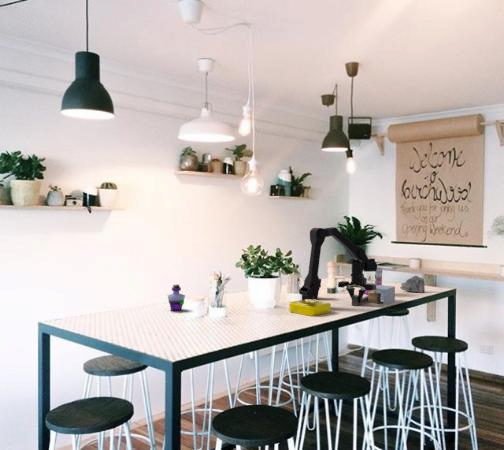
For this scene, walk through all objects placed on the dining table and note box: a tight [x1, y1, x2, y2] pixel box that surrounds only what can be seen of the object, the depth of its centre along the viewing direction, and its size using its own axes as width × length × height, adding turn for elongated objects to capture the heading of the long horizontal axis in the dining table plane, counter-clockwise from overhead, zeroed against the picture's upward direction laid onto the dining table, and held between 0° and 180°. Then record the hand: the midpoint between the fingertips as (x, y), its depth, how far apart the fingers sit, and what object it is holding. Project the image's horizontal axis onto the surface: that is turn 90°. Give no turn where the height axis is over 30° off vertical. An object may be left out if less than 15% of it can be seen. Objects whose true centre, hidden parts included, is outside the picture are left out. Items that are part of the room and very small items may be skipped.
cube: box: [367, 293, 382, 305], centre depth 278 cm, size 5×5×5 cm
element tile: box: [288, 299, 331, 317], centre depth 248 cm, size 15×15×5 cm
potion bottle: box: [167, 284, 186, 312], centre depth 248 cm, size 9×9×12 cm
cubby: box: [375, 284, 396, 306], centre depth 280 cm, size 14×9×8 cm, turn 146°
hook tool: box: [351, 294, 368, 307], centre depth 275 cm, size 21×6×5 cm, turn 148°
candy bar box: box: [363, 266, 383, 296], centre depth 304 cm, size 11×5×16 cm, turn 25°
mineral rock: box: [399, 275, 425, 294], centre depth 320 cm, size 13×11×10 cm
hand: (356, 302), depth 269 cm, fingers closed on hook tool, 3 cm apart
